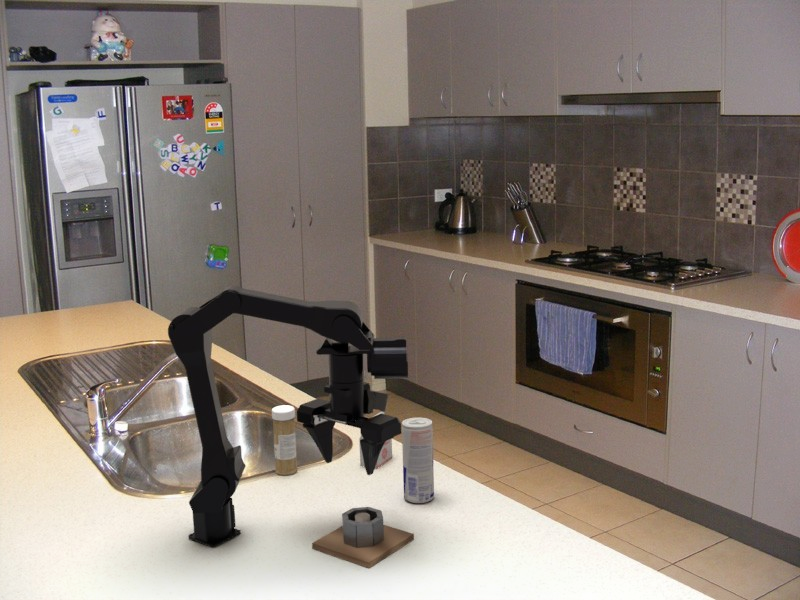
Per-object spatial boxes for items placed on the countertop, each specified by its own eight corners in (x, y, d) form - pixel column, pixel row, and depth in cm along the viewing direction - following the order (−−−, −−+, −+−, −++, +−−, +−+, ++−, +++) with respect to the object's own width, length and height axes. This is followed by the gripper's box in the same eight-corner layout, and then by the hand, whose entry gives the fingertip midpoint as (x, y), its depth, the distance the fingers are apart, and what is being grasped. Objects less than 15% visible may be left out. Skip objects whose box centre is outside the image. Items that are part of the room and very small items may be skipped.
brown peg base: (368, 568, 144) (367, 538, 143) (312, 548, 151) (310, 520, 150) (413, 539, 153) (413, 511, 152) (358, 522, 160) (357, 495, 159)
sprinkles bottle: (275, 468, 186) (271, 405, 184) (298, 466, 187) (294, 403, 184) (274, 476, 182) (271, 412, 179) (297, 475, 182) (294, 410, 180)
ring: (366, 551, 147) (365, 527, 147) (335, 540, 151) (334, 518, 151) (391, 535, 153) (390, 513, 152) (360, 526, 157) (359, 504, 156)
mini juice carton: (360, 466, 186) (358, 419, 184) (376, 455, 192) (375, 409, 190) (376, 469, 184) (374, 422, 182) (392, 458, 190) (390, 412, 188)
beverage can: (440, 497, 170) (438, 420, 167) (420, 507, 166) (418, 428, 163) (417, 490, 173) (416, 414, 170) (397, 499, 169) (395, 422, 166)
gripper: (421, 376, 151) (422, 465, 154) (337, 359, 163) (340, 443, 166) (378, 393, 143) (380, 487, 146) (292, 374, 154) (296, 461, 157)
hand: (349, 468), depth 154 cm, fingers open, 9 cm apart
